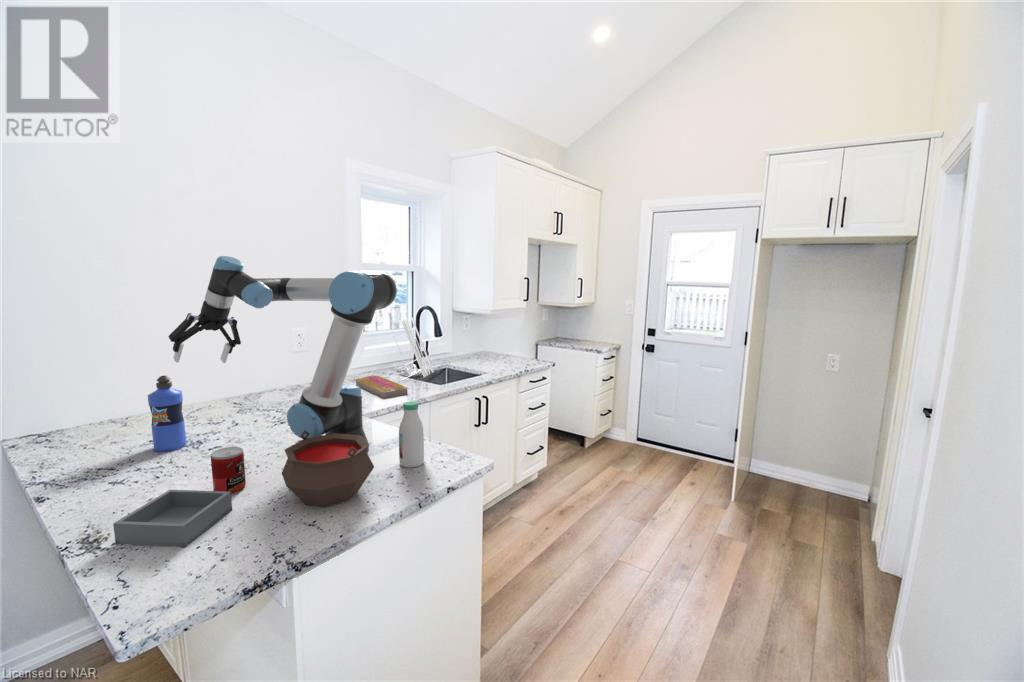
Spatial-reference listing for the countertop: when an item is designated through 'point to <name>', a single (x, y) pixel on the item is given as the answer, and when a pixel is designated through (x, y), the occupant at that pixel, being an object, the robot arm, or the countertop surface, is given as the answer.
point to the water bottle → (167, 417)
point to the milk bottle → (411, 437)
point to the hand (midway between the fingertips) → (200, 360)
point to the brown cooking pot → (327, 468)
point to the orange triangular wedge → (376, 381)
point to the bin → (173, 518)
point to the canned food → (228, 469)
